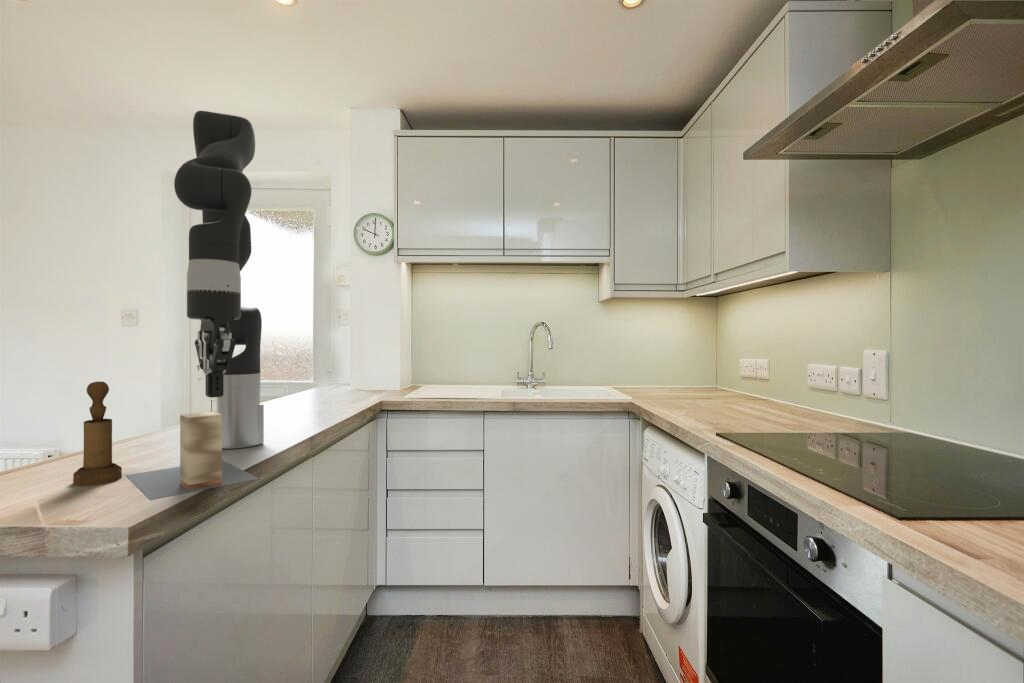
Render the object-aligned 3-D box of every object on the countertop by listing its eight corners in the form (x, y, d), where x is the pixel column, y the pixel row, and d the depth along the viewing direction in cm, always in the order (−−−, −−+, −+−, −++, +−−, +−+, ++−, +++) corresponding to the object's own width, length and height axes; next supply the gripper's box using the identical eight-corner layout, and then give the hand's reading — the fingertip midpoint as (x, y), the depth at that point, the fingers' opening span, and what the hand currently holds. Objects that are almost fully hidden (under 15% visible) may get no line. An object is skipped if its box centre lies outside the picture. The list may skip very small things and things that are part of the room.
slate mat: (222, 462, 102) (222, 459, 102) (258, 481, 88) (258, 478, 88) (125, 477, 90) (125, 475, 90) (150, 503, 77) (150, 499, 77)
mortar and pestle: (93, 489, 83) (93, 383, 83) (63, 487, 85) (62, 382, 85) (131, 478, 90) (130, 380, 90) (102, 476, 91) (101, 379, 91)
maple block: (212, 477, 89) (212, 411, 89) (221, 483, 85) (221, 414, 85) (180, 483, 85) (180, 414, 85) (188, 489, 82) (188, 417, 82)
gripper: (254, 289, 78) (254, 398, 78) (226, 294, 87) (226, 392, 87) (200, 285, 73) (200, 402, 73) (176, 291, 82) (176, 395, 82)
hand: (214, 396), depth 80 cm, fingers closed
